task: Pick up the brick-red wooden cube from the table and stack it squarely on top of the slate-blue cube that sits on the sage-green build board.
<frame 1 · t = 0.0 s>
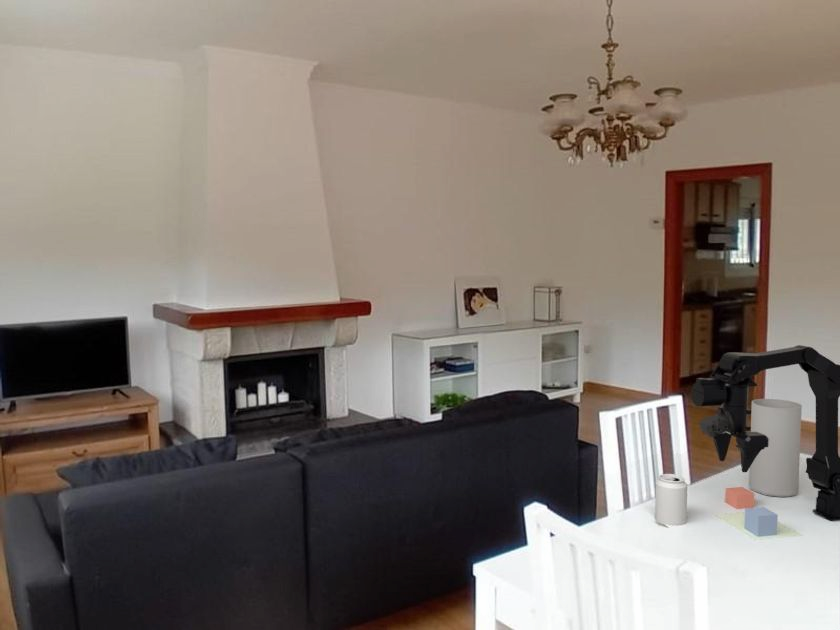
hand: (732, 466, 173), 15 cm above the table, tool pointing down, fingers open, 9 cm apart
can: (670, 524, 175), on the table
blue brick: (760, 531, 166), point 1 cm above the table, touching build board
red brick: (739, 508, 184), on the table
build board: (757, 528, 171), on the table
gray cylinder: (773, 490, 198), on the table
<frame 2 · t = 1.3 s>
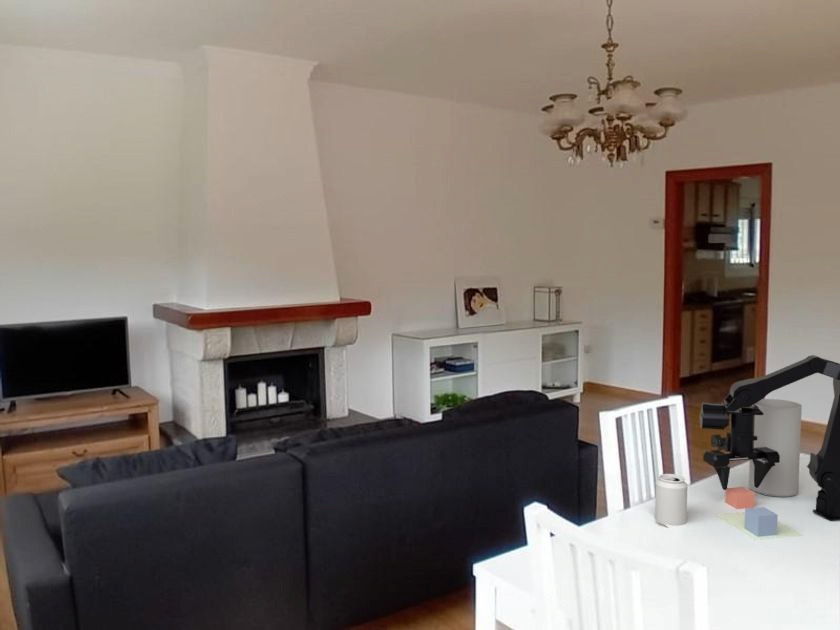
hand: (740, 488, 184), 5 cm above the table, tool pointing down, fingers open, 9 cm apart
nothing on the table moved.
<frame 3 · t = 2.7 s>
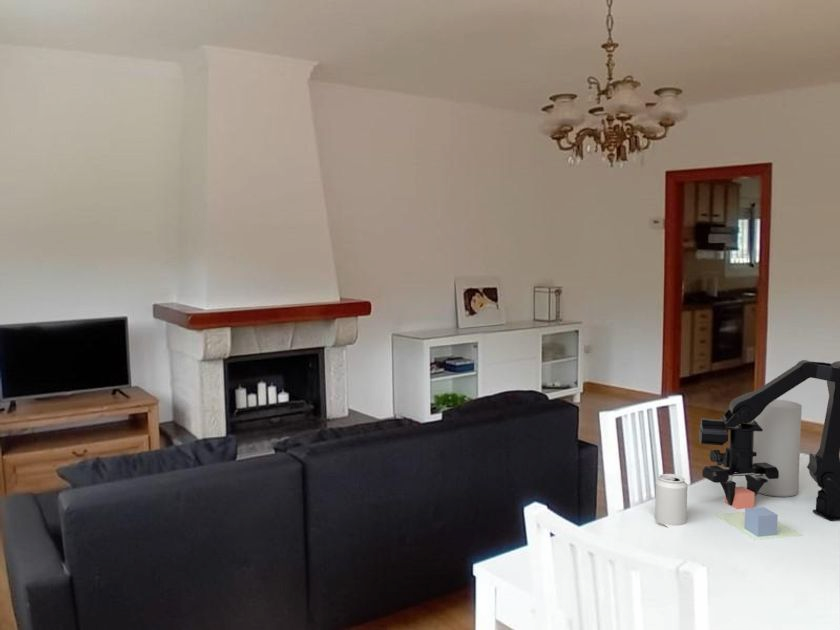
hand: (739, 504, 184), 1 cm above the table, tool pointing down, fingers closed on red brick, 5 cm apart
red brick: (739, 508, 184), on the table, touching gripper
everything else where it was.
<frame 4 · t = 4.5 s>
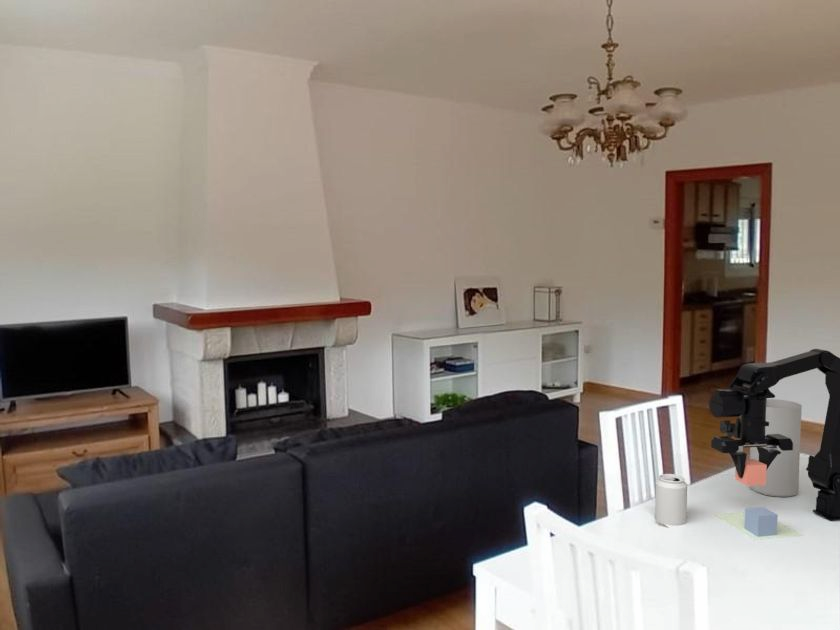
hand: (750, 477, 174), 12 cm above the table, tool pointing down, fingers closed on red brick, 5 cm apart
red brick: (750, 482, 174), point 10 cm above the table, touching gripper
everything else where it was.
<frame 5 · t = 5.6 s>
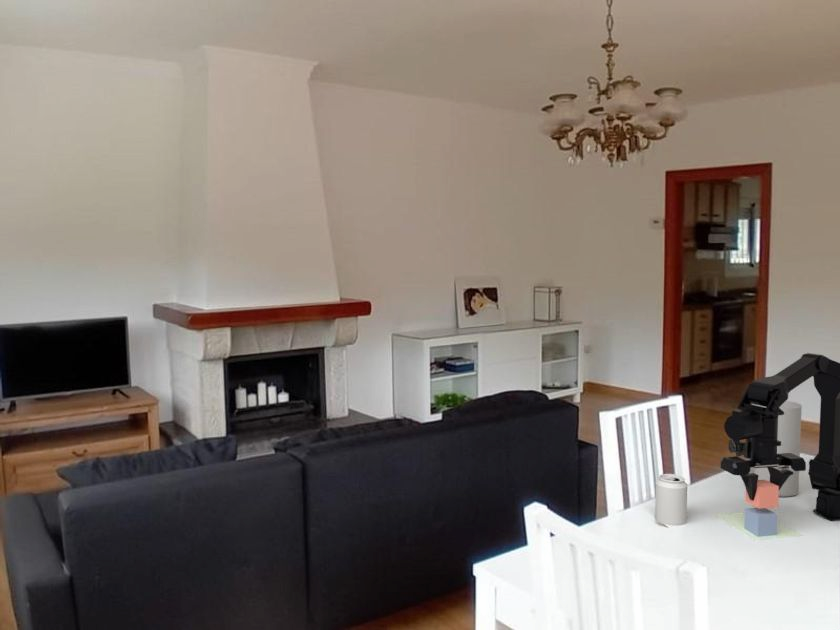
hand: (761, 499, 166), 9 cm above the table, tool pointing down, fingers closed on red brick, 5 cm apart
red brick: (761, 504, 166), point 8 cm above the table, touching gripper
everything else where it was.
when the fingers open (8 cm above the table, at t = 6.2 s): red brick stays where it is, resting on blue brick.
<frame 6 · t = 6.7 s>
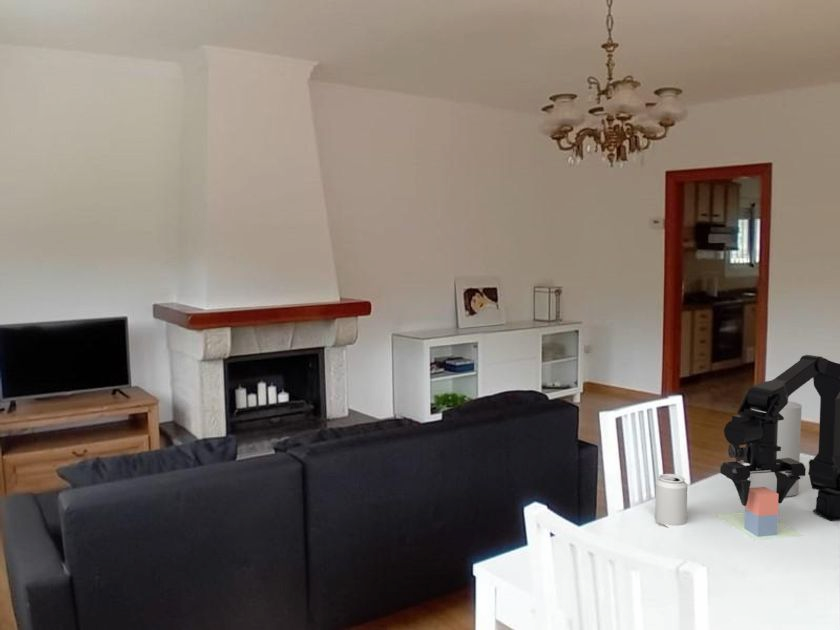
hand: (761, 504, 166), 8 cm above the table, tool pointing down, fingers open, 9 cm apart
blue brick: (760, 531, 166), point 1 cm above the table, touching build board, red brick
red brick: (761, 511, 166), point 6 cm above the table, touching blue brick
everything else where it was.
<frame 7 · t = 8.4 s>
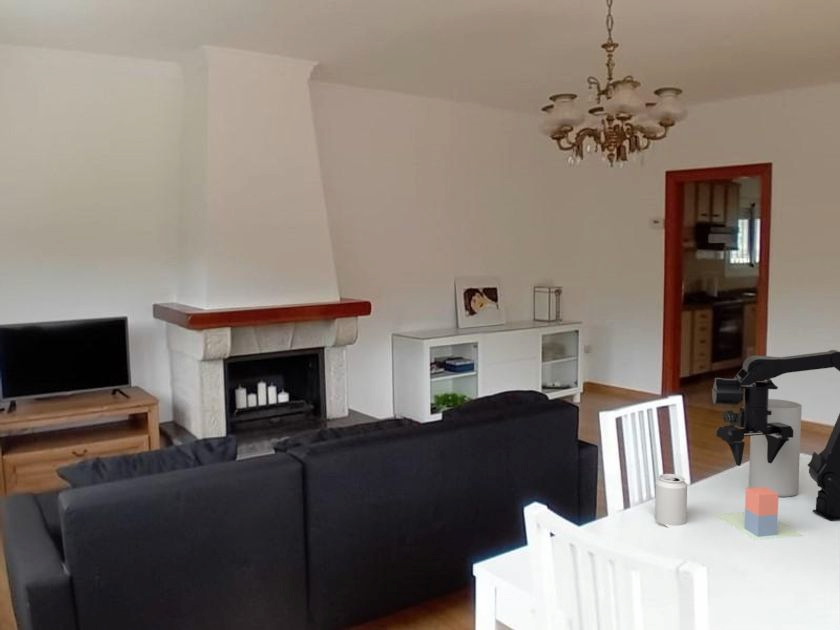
hand: (754, 464, 182), 12 cm above the table, tool pointing down, fingers open, 9 cm apart
nothing on the table moved.
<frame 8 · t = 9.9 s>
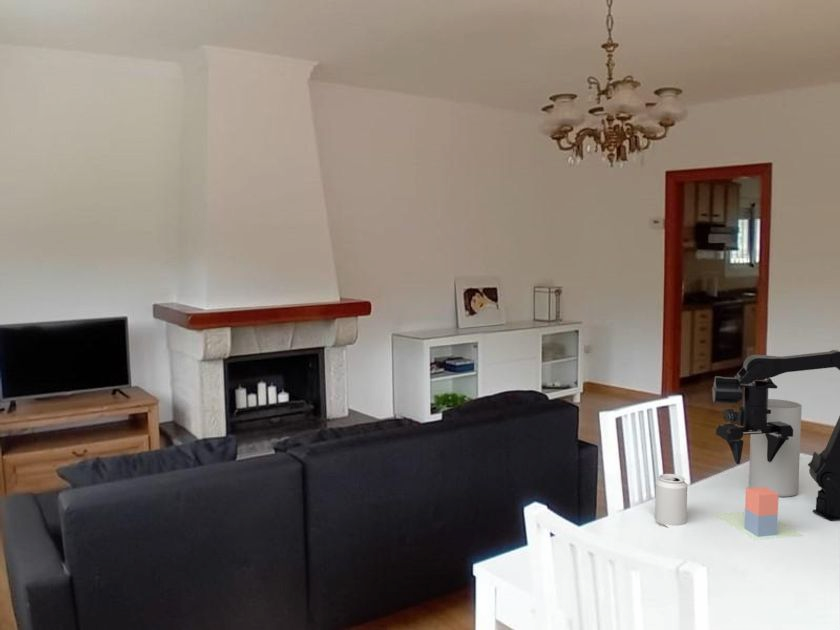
hand: (753, 462, 183), 13 cm above the table, tool pointing down, fingers open, 9 cm apart
nothing on the table moved.
at the end: red brick 0.1 cm off-centre on the blue brick, point 5.0 cm above the blue brick's base; red brick tilted 0°; blue brick moved 0.1 cm from its start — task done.
